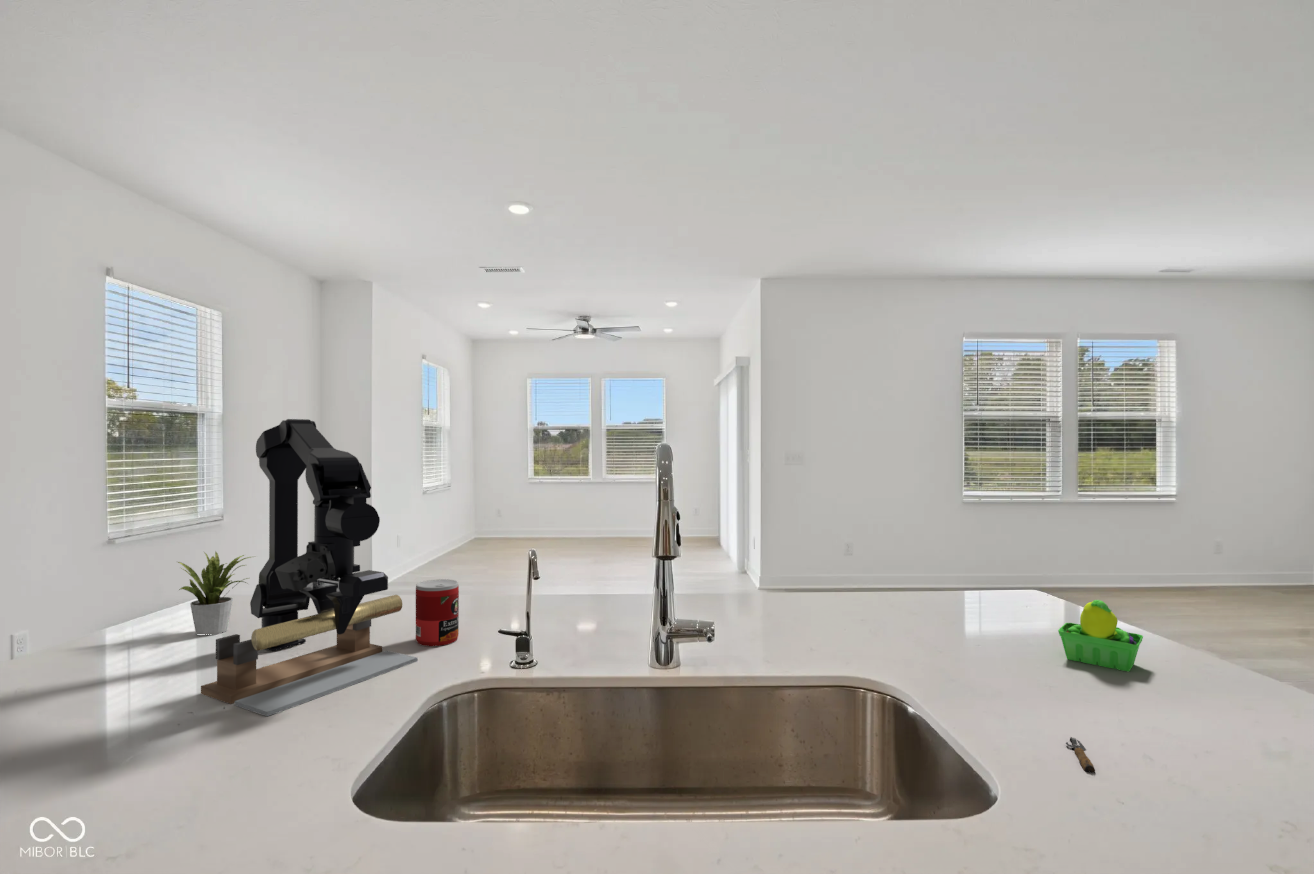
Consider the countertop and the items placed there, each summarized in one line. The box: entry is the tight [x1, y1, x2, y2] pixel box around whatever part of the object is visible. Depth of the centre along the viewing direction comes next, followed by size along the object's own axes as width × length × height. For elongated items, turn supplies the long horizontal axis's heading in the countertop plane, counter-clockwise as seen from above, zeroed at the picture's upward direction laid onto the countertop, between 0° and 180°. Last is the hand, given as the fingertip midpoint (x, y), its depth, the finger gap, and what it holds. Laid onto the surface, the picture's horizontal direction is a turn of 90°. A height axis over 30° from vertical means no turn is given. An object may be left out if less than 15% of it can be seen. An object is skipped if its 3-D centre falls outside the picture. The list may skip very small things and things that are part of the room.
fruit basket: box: [1057, 599, 1144, 673], centre depth 112 cm, size 11×9×11 cm
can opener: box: [1065, 736, 1096, 774], centre depth 79 cm, size 9×2×1 cm, turn 153°
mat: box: [234, 650, 418, 717], centre depth 104 cm, size 8×26×1 cm, turn 151°
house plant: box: [177, 550, 257, 636], centre depth 130 cm, size 14×14×16 cm
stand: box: [200, 619, 383, 705], centre depth 108 cm, size 26×8×8 cm, turn 151°
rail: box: [251, 594, 403, 652], centre depth 104 cm, size 24×3×3 cm, turn 151°
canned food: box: [415, 578, 460, 647], centre depth 125 cm, size 8×8×11 cm
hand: (334, 632), depth 104 cm, fingers closed on rail, 3 cm apart
